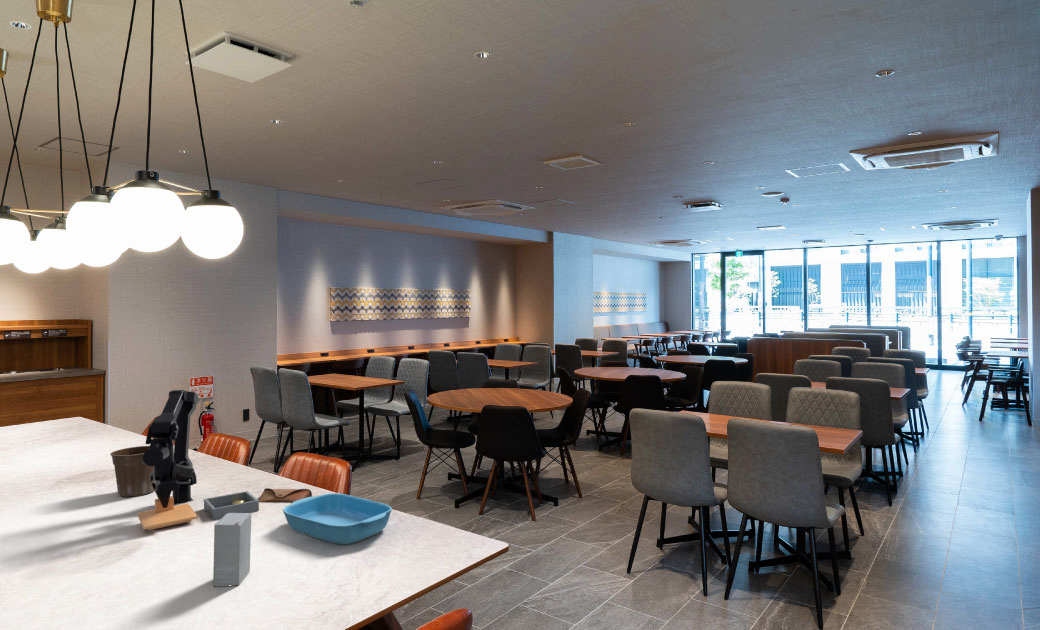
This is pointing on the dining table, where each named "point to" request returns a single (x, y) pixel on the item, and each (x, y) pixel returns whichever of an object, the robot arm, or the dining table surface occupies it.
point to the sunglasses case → (284, 495)
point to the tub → (230, 504)
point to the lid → (166, 515)
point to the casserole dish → (337, 517)
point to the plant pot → (132, 471)
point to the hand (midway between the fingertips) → (164, 506)
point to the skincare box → (232, 549)
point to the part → (238, 501)
